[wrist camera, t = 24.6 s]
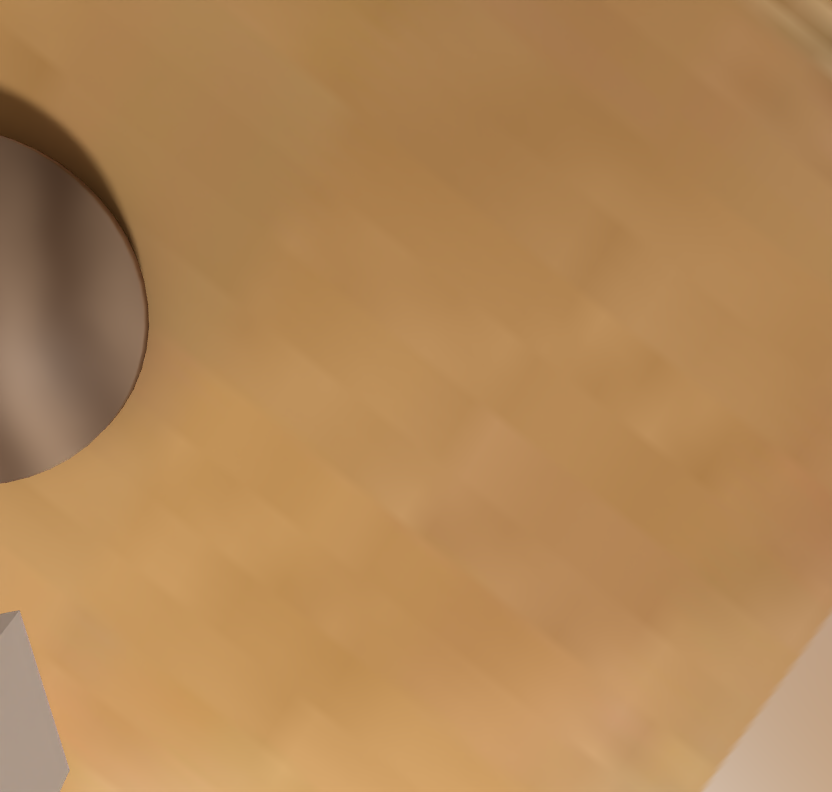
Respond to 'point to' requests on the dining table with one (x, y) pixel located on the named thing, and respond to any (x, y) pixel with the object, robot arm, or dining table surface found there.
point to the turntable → (61, 313)
